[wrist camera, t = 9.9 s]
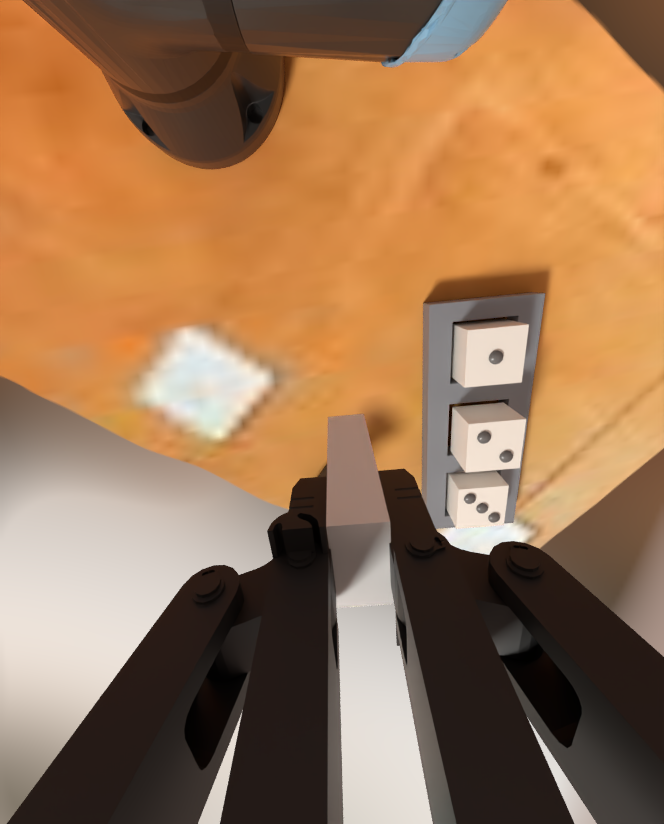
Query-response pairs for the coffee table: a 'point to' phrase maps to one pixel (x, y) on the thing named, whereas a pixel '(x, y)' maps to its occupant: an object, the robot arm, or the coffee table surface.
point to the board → (468, 389)
